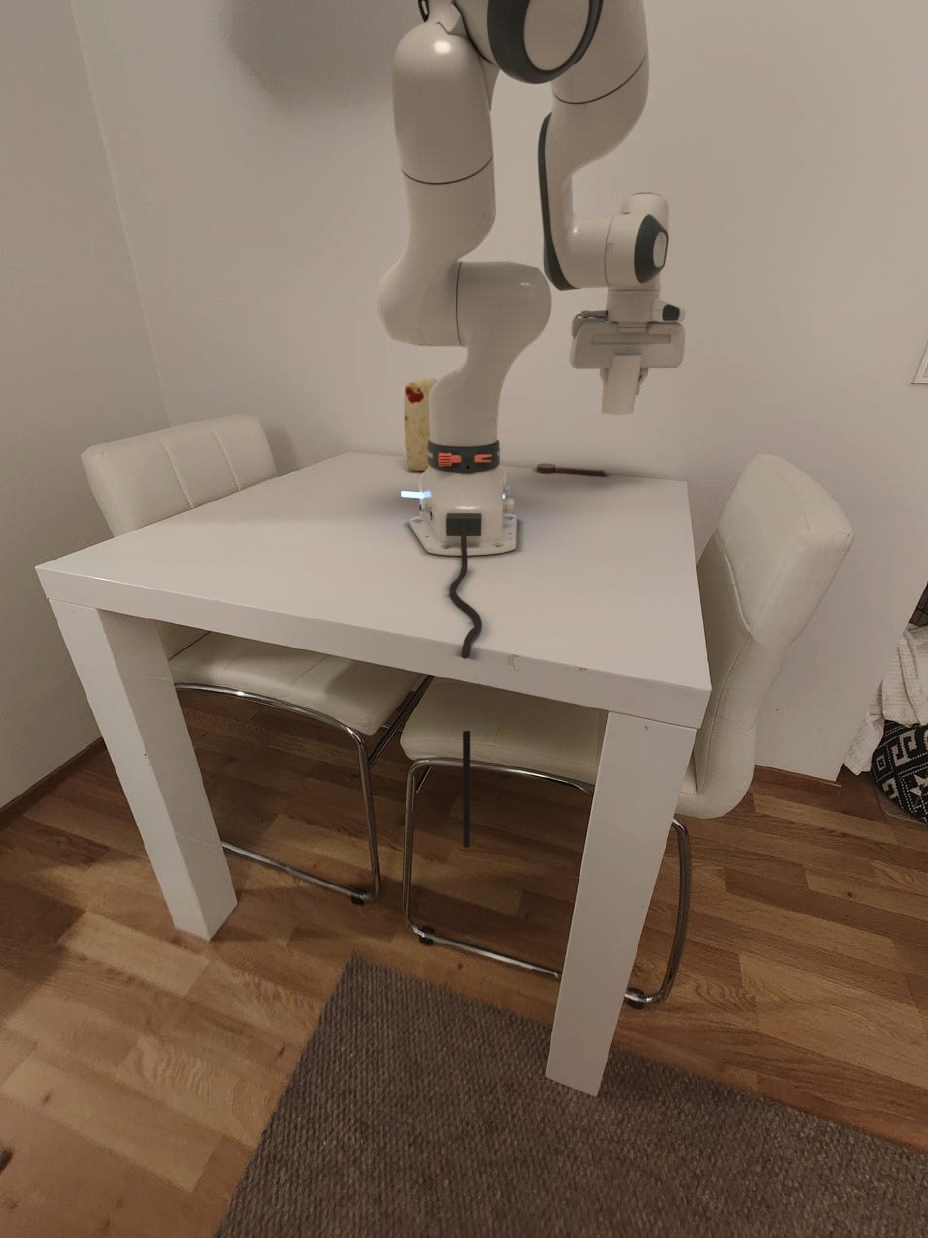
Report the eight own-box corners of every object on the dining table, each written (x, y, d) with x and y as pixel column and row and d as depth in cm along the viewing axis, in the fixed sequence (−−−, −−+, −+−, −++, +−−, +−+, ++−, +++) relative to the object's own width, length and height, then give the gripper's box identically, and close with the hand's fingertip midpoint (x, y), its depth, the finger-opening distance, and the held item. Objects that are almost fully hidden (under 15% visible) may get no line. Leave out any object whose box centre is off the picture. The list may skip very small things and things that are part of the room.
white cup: (592, 412, 107) (597, 354, 103) (610, 408, 112) (617, 352, 107) (623, 416, 103) (630, 356, 99) (641, 412, 108) (649, 354, 103)
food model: (413, 475, 130) (409, 380, 120) (401, 469, 135) (396, 378, 125) (451, 470, 134) (450, 378, 124) (438, 464, 139) (436, 376, 130)
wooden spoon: (605, 472, 131) (606, 467, 131) (603, 477, 128) (604, 472, 127) (538, 467, 136) (539, 462, 135) (534, 472, 132) (535, 466, 132)
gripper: (577, 310, 96) (570, 397, 102) (695, 310, 97) (680, 396, 104) (568, 310, 101) (562, 393, 108) (679, 310, 103) (666, 392, 109)
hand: (621, 394), depth 106 cm, fingers closed on white cup, 3 cm apart
